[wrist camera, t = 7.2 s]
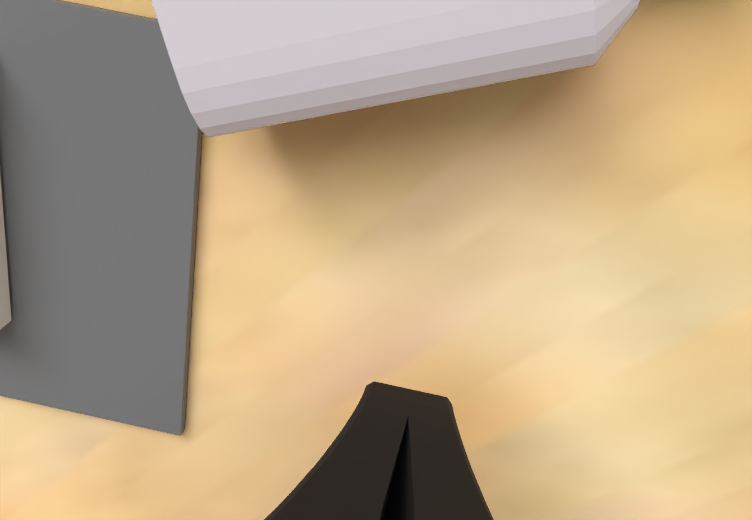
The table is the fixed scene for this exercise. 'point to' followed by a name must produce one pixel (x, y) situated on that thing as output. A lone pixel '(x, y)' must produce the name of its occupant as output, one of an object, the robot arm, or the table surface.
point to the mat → (96, 214)
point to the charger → (367, 51)
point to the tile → (3, 273)
